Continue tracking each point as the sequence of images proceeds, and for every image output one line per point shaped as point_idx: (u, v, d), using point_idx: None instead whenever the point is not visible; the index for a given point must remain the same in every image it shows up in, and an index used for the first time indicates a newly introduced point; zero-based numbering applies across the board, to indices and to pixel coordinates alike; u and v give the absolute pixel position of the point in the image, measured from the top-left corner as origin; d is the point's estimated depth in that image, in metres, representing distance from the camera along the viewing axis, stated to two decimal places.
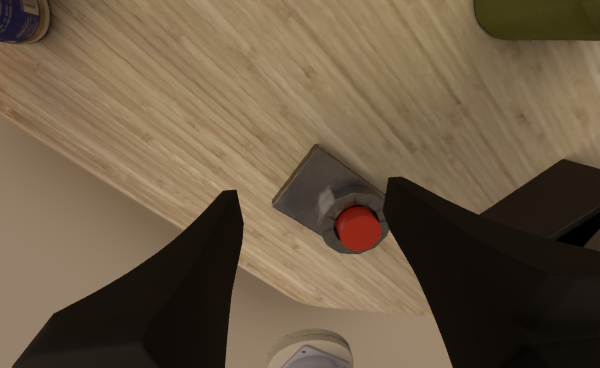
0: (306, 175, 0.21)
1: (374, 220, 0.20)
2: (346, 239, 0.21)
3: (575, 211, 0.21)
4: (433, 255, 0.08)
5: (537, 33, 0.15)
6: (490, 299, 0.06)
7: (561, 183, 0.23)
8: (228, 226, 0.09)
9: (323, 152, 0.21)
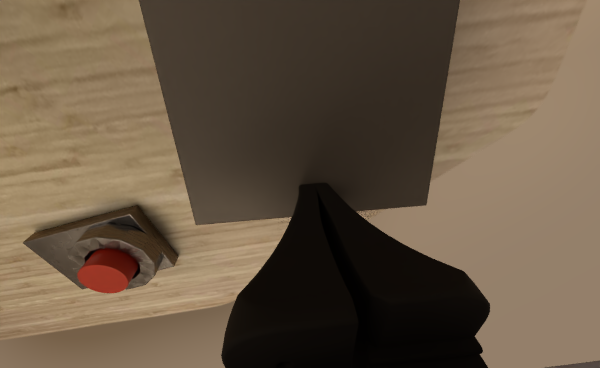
0: (55, 260, 0.22)
1: (88, 266, 0.18)
2: (104, 289, 0.20)
3: None
4: None
5: None
6: None
7: None
8: None
9: (30, 241, 0.20)
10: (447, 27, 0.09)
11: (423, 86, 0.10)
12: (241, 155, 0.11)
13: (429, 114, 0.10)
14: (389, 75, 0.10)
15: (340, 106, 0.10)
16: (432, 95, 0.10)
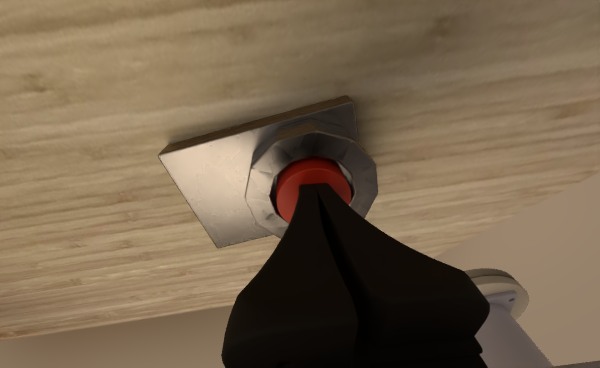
0: (197, 193, 0.13)
1: (306, 172, 0.11)
2: None
3: None
4: None
5: None
6: None
7: None
8: None
9: (171, 153, 0.12)
10: None
11: None
12: None
13: None
14: None
15: None
16: None
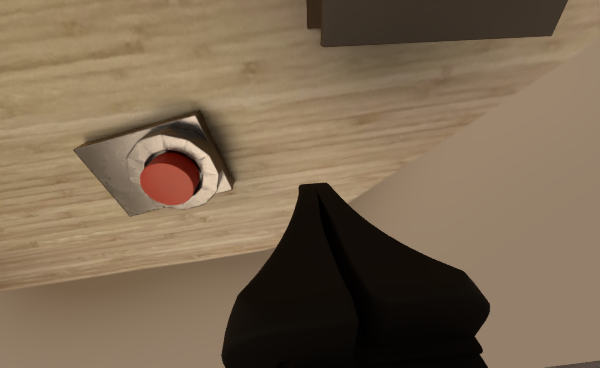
0: (106, 175, 0.20)
1: (154, 165, 0.16)
2: (166, 200, 0.18)
3: None
4: None
5: None
6: None
7: None
8: None
9: (82, 148, 0.18)
10: None
11: None
12: None
13: None
14: None
15: None
16: None
